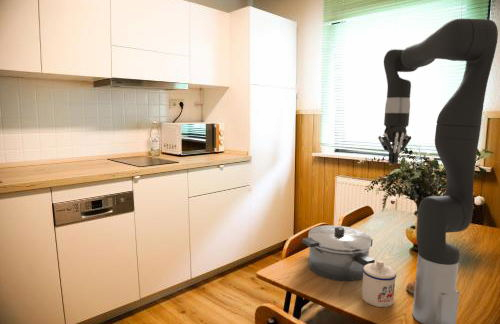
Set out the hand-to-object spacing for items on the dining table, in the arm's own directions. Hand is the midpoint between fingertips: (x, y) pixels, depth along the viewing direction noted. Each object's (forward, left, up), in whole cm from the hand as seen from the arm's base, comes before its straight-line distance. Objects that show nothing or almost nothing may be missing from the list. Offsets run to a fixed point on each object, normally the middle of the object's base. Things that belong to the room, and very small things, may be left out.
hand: (392, 163), depth 114 cm
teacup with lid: (-15, +17, -37) cm, 44 cm away
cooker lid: (+6, +18, -27) cm, 33 cm away
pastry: (-18, +2, -38) cm, 42 cm away
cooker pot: (+6, +15, -37) cm, 40 cm away
